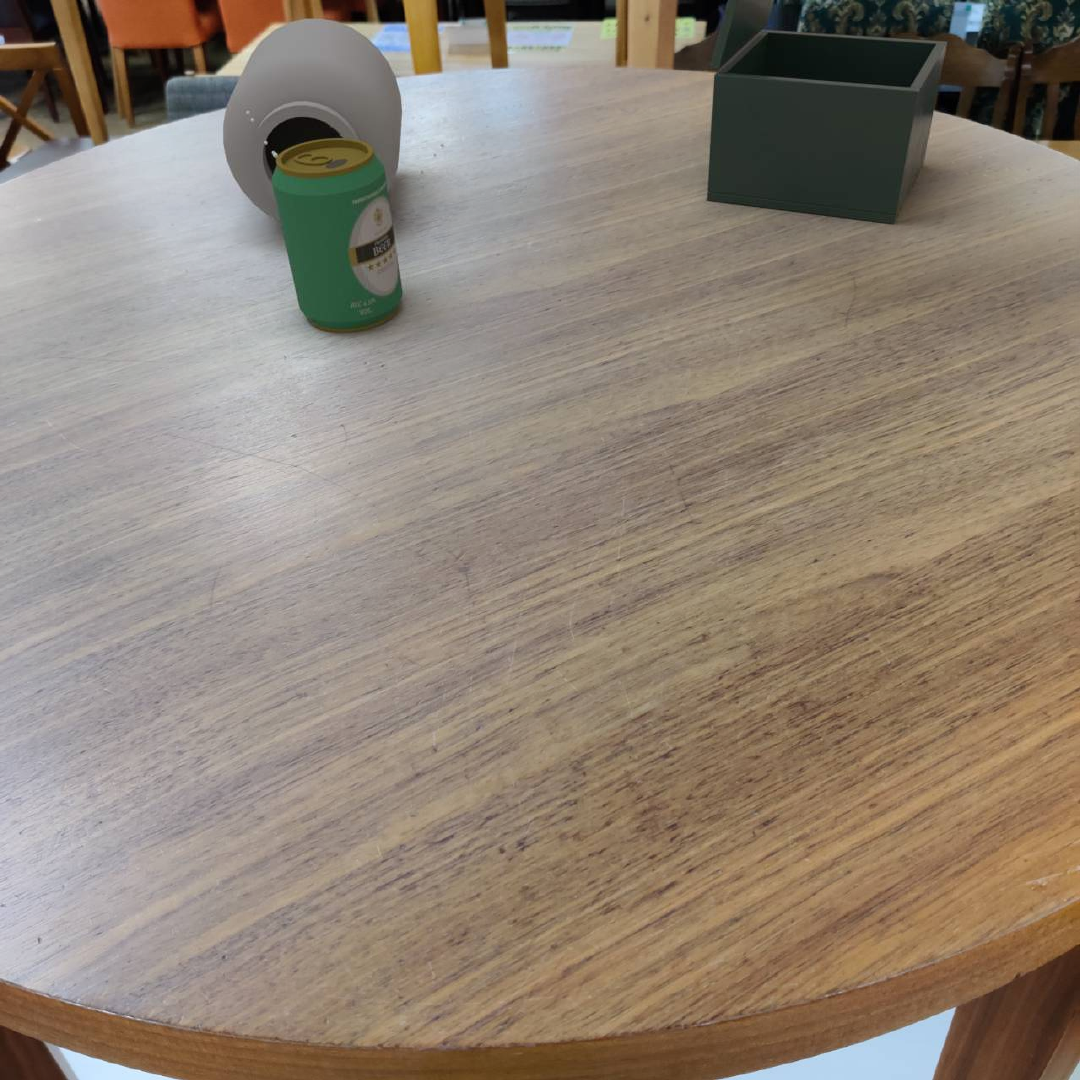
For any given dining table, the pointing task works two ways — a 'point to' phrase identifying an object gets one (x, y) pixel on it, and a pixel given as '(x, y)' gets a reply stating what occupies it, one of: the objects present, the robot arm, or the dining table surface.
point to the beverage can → (338, 233)
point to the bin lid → (739, 27)
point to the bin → (823, 123)
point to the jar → (309, 102)
